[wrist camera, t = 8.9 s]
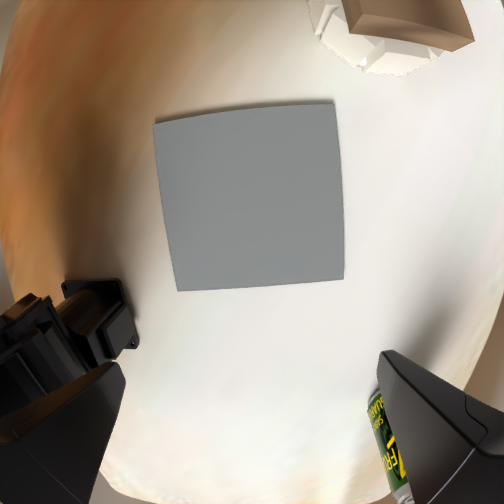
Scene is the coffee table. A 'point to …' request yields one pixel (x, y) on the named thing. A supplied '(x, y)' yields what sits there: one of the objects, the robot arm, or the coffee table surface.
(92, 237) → the coffee table surface
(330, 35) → the bowl
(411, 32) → the lid
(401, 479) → the beer can
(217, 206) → the mat
